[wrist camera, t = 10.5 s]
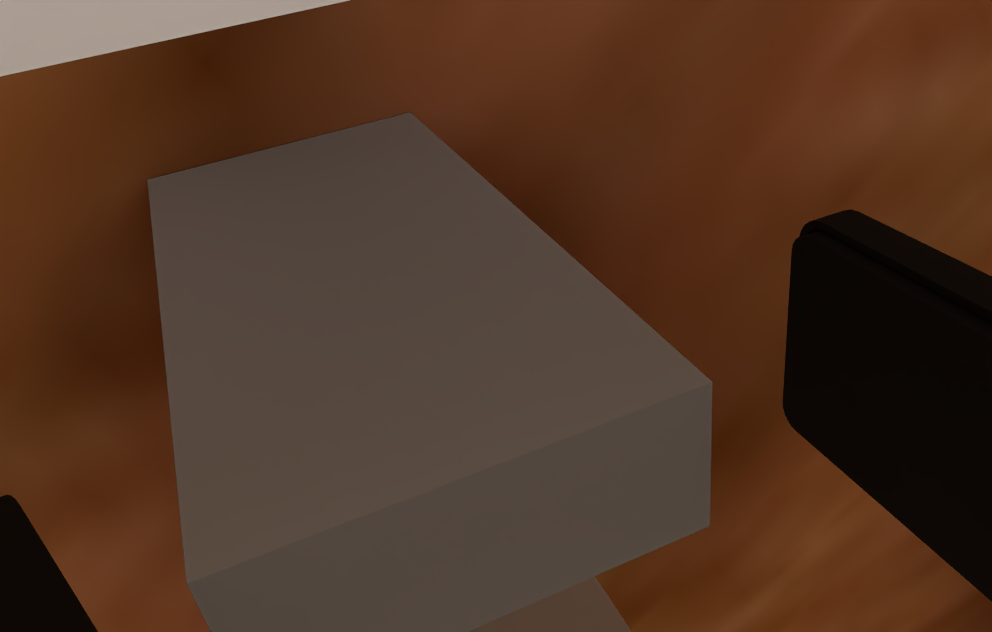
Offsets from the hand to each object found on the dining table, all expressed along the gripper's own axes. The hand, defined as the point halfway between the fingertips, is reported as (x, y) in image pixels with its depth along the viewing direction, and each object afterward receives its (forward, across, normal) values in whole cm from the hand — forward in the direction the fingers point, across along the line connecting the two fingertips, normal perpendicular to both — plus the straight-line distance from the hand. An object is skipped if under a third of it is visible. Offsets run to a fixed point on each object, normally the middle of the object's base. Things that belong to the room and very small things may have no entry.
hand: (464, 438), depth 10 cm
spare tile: (+8, +1, 0) cm, 8 cm away
